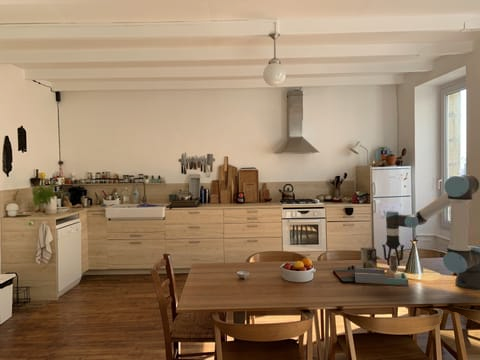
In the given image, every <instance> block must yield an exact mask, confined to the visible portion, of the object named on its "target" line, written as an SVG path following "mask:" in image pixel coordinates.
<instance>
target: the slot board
mask: <svg viewBox="0 0 480 360" xmlns="http://www.w3.org/2000/svg"><path fill="white" fill-rule="evenodd" d="M385 270H386V269H385V268H377V269H373V268H361V267H354V282H355V283H360V284H361V283H363V284H376V285H377V284H379V285H388V284H387V281H386V274H385V272H386V271H385Z"/></svg>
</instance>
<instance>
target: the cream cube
mask: <svg viewBox="0 0 480 360" xmlns="http://www.w3.org/2000/svg"><path fill="white" fill-rule="evenodd" d="M401 273H402V272H396V273H395V274H394V278H398V279H402V275H401Z"/></svg>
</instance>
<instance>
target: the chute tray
mask: <svg viewBox="0 0 480 360" xmlns="http://www.w3.org/2000/svg"><path fill="white" fill-rule="evenodd" d="M386 272H387V271H385V274H386ZM400 273H401V275H402V279H398V278H394V277H393V278H387V277H386V281H387V284H386V285H395V286H396V285H397V286H409V278H408V275H406V273H405V272H400Z"/></svg>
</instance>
